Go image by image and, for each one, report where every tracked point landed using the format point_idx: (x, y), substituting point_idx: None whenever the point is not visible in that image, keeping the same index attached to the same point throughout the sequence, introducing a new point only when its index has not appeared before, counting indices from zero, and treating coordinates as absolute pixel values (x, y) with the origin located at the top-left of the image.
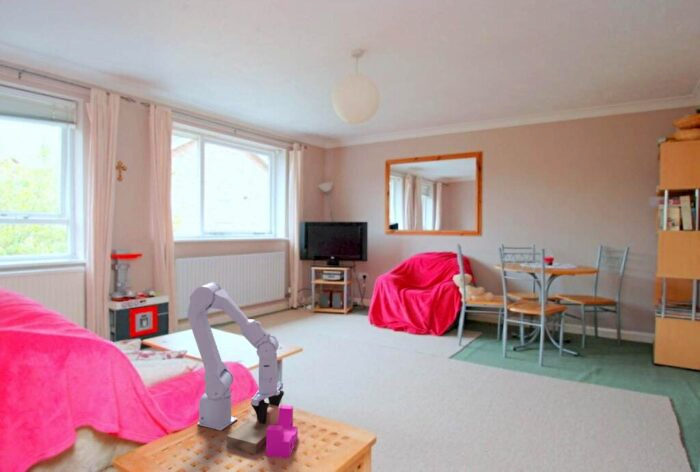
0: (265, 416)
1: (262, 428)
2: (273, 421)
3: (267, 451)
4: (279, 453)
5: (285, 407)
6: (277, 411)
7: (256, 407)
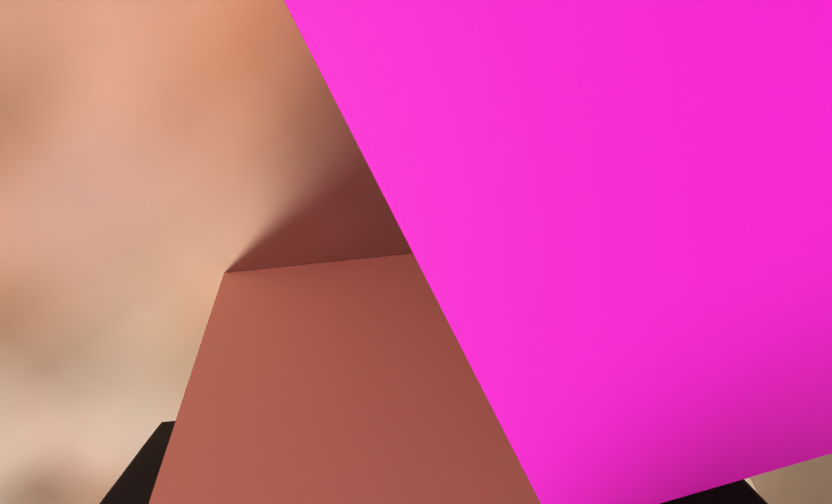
0: (725, 498)
1: None
2: (439, 307)
3: None
4: None
5: (783, 97)
6: (244, 447)
7: None
